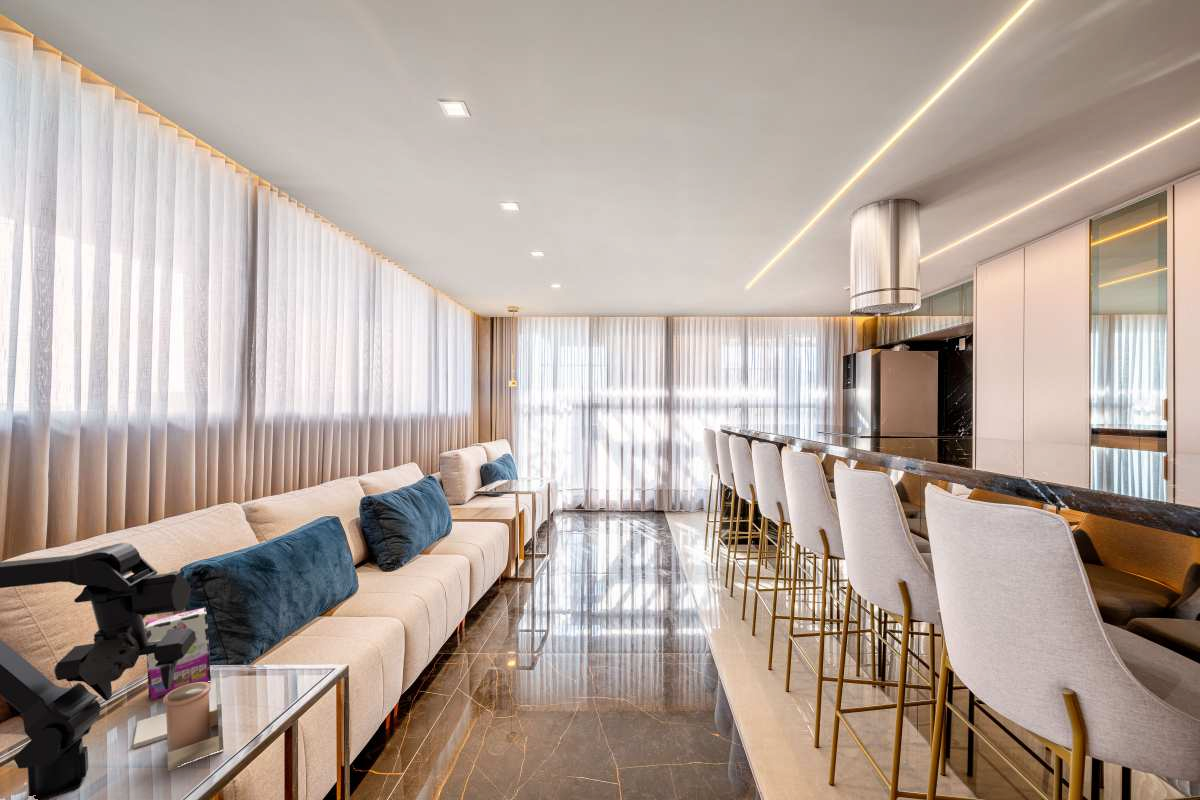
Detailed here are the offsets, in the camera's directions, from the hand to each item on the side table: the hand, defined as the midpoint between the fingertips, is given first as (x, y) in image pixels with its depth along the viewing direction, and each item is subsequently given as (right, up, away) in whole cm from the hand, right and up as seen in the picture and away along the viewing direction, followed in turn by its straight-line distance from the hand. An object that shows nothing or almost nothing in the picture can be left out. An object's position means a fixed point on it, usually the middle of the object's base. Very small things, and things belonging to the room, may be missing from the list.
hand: (138, 693), depth 97 cm
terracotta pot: (+6, -12, +4) cm, 14 cm away
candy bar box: (-12, -13, +25) cm, 30 cm away
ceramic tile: (-3, -12, +10) cm, 16 cm away
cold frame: (+6, -12, +4) cm, 14 cm away
